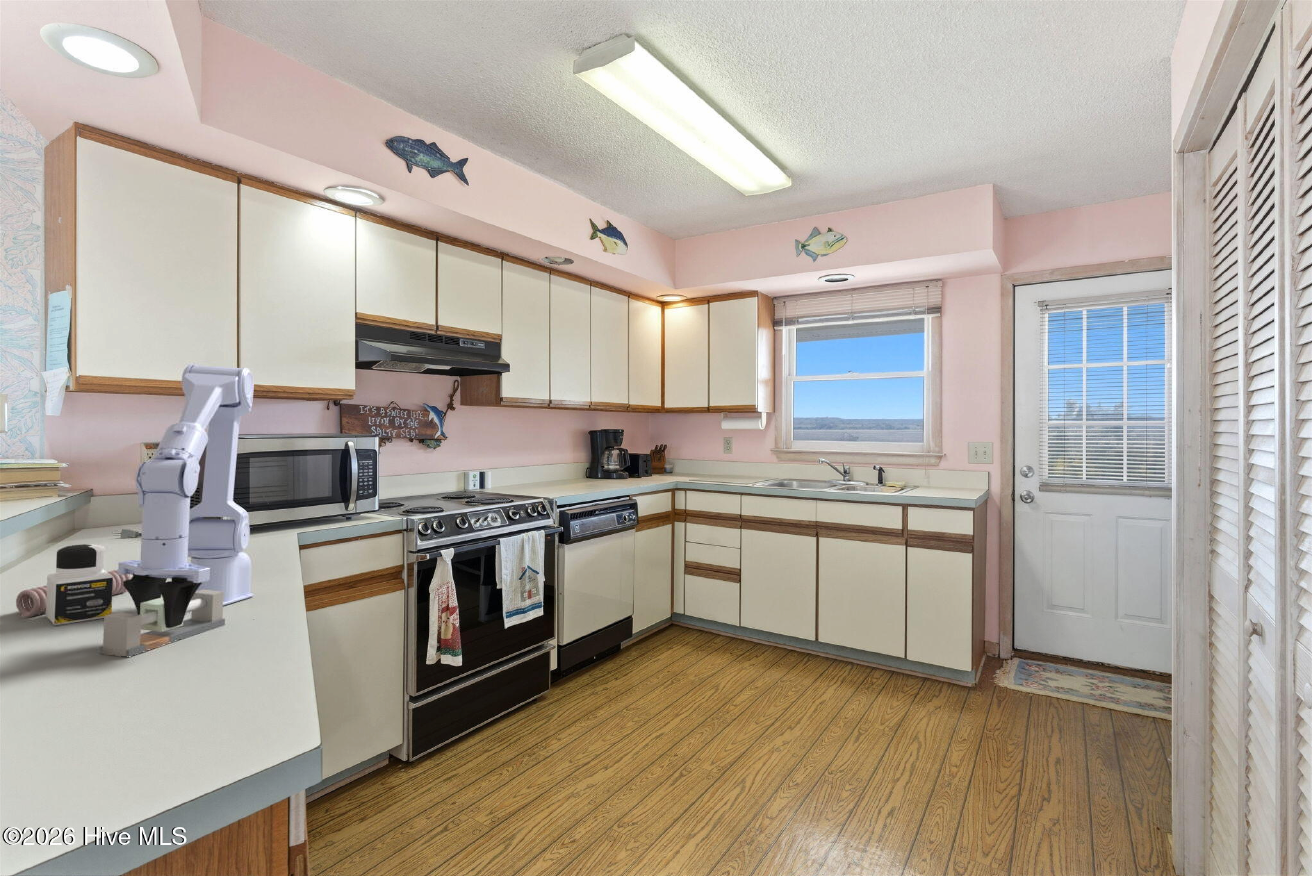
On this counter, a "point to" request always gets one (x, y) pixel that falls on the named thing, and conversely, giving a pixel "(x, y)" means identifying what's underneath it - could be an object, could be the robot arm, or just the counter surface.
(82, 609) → the medicine bottle
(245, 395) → the robot arm
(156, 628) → the sleeve
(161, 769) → the counter surface
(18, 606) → the coil
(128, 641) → the rod with sliding collar
